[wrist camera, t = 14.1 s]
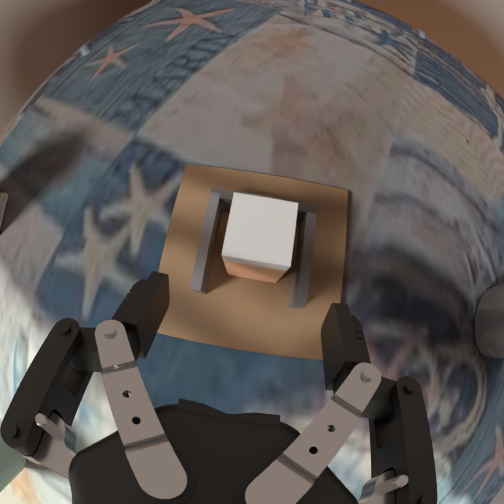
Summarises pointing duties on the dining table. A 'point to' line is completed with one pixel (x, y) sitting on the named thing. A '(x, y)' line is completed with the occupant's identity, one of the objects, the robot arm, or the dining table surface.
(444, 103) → the dining table surface
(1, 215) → the coffee box
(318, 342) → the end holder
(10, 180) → the dining table surface
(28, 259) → the dining table surface
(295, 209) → the plug
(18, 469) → the disposable coffee cup
